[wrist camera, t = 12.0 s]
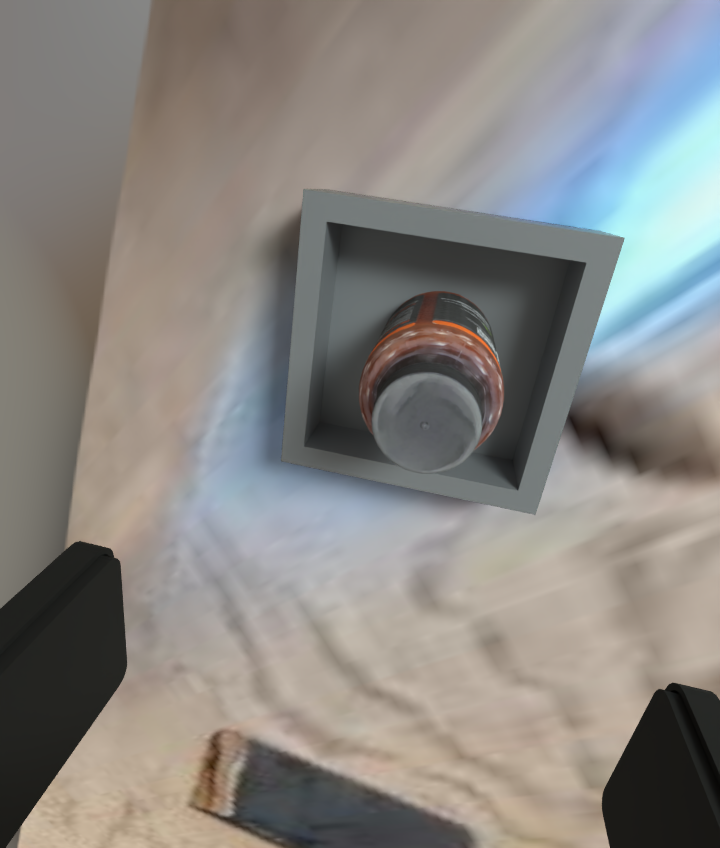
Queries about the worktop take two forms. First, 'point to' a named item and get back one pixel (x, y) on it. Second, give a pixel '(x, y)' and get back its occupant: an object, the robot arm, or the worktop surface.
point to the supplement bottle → (432, 383)
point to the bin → (451, 272)
